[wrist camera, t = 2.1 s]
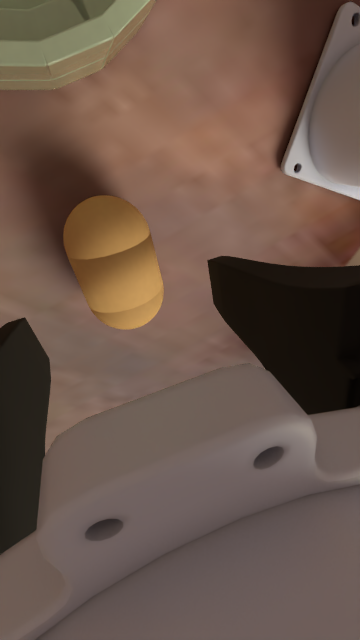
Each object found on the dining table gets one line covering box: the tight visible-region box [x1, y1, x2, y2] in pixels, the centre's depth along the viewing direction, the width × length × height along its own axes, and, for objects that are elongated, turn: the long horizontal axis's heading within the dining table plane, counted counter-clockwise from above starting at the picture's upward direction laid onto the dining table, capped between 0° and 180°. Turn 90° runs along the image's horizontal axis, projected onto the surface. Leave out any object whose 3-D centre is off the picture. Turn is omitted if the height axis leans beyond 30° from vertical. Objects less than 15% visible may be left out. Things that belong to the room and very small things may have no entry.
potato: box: [63, 195, 164, 329], centre depth 16 cm, size 7×4×4 cm, turn 11°
